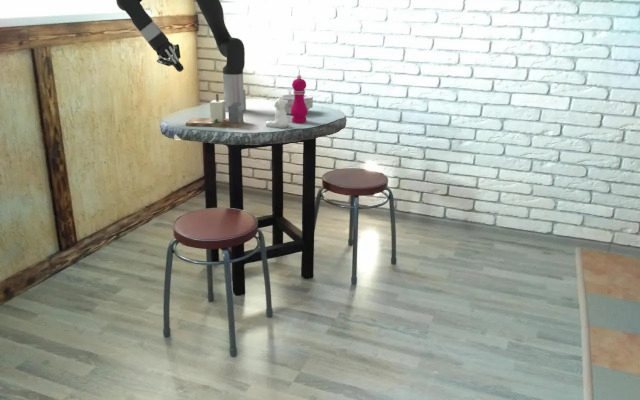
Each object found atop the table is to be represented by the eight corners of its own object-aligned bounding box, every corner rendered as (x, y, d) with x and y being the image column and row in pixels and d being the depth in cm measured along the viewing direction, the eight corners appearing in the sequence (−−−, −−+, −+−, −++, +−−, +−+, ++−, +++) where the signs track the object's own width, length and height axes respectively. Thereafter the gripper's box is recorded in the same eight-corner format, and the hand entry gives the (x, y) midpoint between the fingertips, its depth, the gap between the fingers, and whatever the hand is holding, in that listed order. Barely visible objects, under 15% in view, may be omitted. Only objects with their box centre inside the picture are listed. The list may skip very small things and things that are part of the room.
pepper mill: (289, 123, 232) (289, 75, 225) (292, 119, 239) (292, 73, 232) (306, 123, 231) (306, 76, 224) (308, 120, 238) (309, 74, 231)
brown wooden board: (185, 125, 224) (185, 122, 224) (193, 120, 235) (193, 117, 234) (238, 127, 223) (238, 123, 223) (243, 121, 233) (243, 118, 233)
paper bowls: (308, 109, 263) (308, 92, 260) (315, 115, 249) (316, 98, 246) (277, 110, 259) (277, 93, 256) (283, 116, 245) (283, 99, 243)
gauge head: (209, 122, 223) (207, 96, 219) (214, 118, 231) (212, 92, 227) (221, 123, 223) (219, 96, 219) (225, 119, 231) (224, 93, 227)
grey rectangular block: (228, 123, 223) (228, 106, 221) (234, 118, 233) (233, 102, 230) (238, 124, 223) (237, 107, 221) (243, 119, 233) (242, 102, 230)
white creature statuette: (282, 123, 232) (282, 95, 228) (295, 126, 226) (295, 97, 222) (264, 126, 226) (264, 97, 222) (277, 130, 220) (277, 100, 216)
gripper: (148, 41, 216) (176, 76, 223) (168, 24, 224) (195, 59, 231) (139, 47, 222) (167, 81, 229) (159, 31, 229) (186, 65, 236)
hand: (181, 70), depth 230 cm, fingers closed
